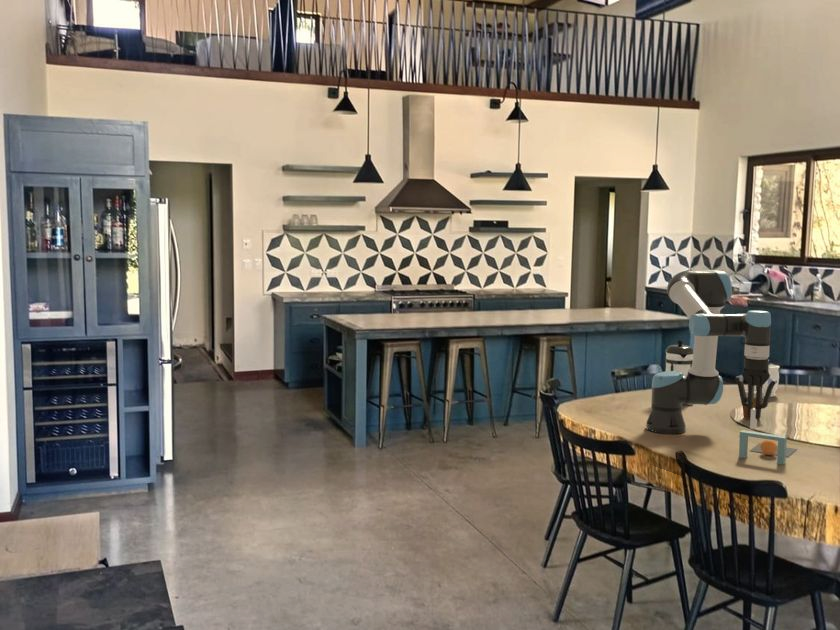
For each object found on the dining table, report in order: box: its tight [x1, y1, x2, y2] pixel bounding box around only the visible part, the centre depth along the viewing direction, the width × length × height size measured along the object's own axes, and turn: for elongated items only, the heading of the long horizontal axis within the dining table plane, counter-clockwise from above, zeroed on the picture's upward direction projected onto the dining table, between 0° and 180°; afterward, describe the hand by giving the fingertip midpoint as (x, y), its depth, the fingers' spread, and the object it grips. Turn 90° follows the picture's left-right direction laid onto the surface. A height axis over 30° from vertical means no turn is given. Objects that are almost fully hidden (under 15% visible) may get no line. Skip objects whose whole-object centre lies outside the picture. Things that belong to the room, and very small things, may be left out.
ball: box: [760, 439, 778, 456], centre depth 272 cm, size 6×6×6 cm
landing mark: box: [749, 442, 798, 458], centre depth 278 cm, size 13×13×1 cm
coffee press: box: [664, 339, 694, 406], centre depth 359 cm, size 17×16×30 cm
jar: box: [762, 363, 781, 398], centre depth 378 cm, size 11×10×15 cm
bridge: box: [738, 430, 788, 466], centre depth 265 cm, size 14×3×9 cm, turn 52°
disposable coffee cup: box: [742, 388, 765, 420], centre depth 327 cm, size 10×10×12 cm
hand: (753, 427), depth 254 cm, fingers closed
